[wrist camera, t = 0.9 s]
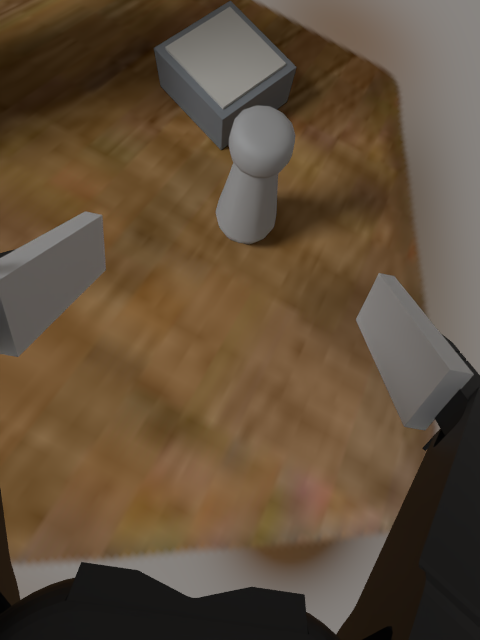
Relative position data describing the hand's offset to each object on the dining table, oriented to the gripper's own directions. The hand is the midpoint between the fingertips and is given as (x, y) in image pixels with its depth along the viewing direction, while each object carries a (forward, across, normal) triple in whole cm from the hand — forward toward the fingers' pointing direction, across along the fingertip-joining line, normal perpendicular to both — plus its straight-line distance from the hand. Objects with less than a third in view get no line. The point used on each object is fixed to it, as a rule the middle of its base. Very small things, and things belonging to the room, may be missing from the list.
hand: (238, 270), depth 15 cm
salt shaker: (+18, 0, -4) cm, 19 cm away
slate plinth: (+29, -5, +7) cm, 30 cm away
